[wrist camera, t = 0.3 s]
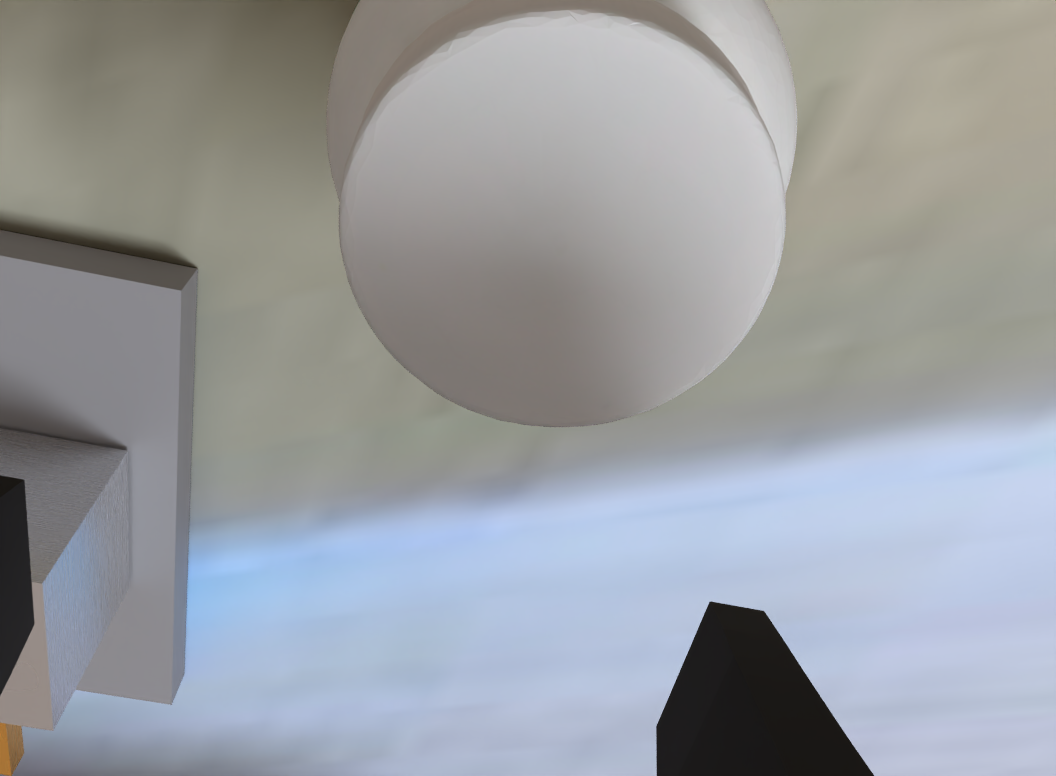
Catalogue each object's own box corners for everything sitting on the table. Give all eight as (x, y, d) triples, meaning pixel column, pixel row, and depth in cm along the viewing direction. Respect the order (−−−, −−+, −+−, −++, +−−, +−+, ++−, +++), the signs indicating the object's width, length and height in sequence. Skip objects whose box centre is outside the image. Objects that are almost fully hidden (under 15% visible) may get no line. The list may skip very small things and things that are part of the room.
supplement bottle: (721, 154, 18) (865, 460, 10) (438, 197, 18) (348, 521, 10) (701, -180, 15) (879, -145, 7) (369, -117, 16) (168, -17, 7)
